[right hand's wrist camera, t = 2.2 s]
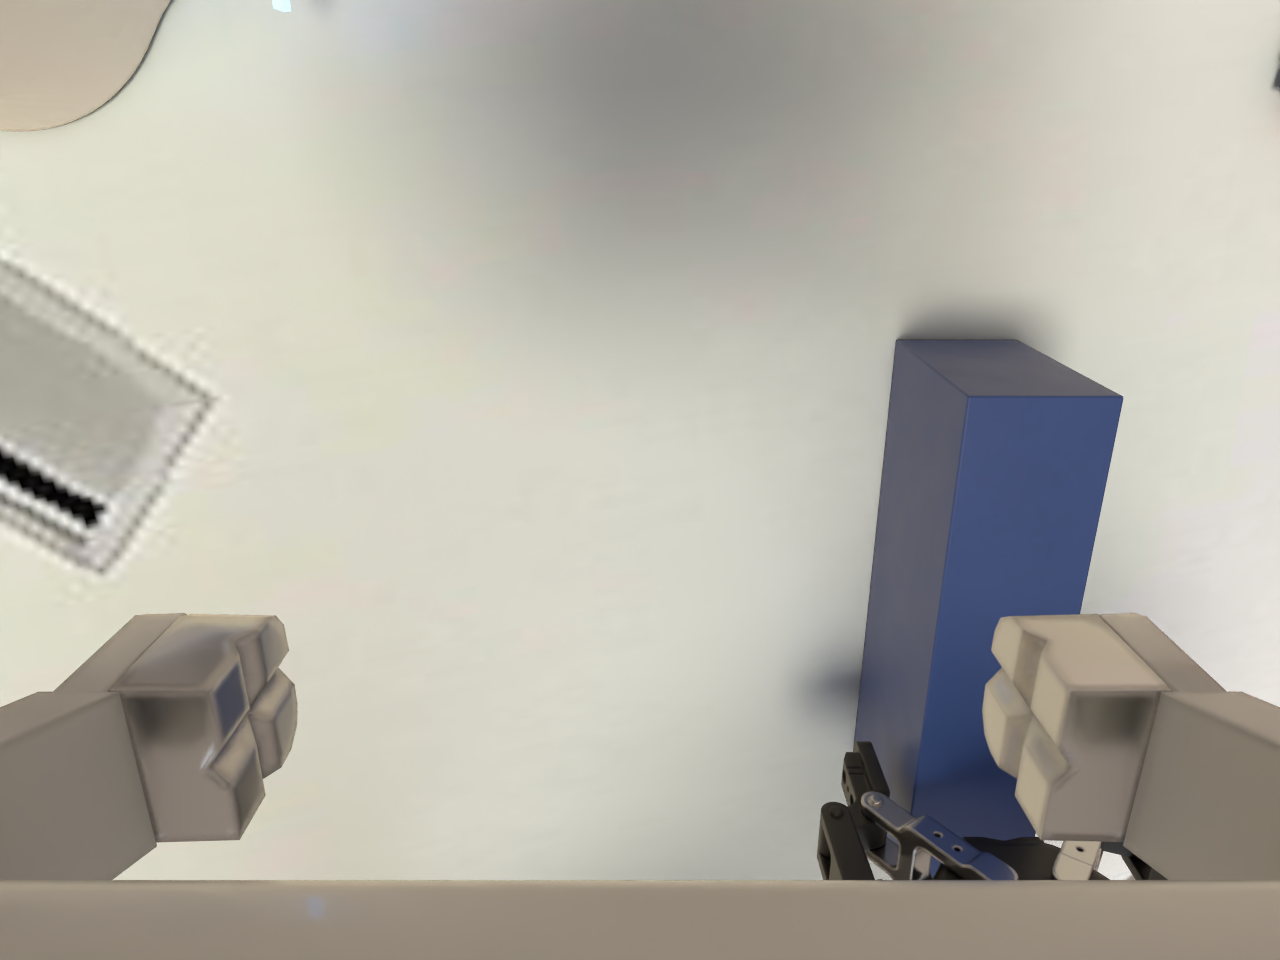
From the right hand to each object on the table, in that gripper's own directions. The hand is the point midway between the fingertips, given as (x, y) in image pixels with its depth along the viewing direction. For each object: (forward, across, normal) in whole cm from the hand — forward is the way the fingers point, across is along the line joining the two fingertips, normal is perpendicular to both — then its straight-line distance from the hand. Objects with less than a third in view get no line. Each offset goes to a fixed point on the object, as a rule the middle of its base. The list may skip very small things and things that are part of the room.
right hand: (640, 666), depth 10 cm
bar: (+31, -14, +14) cm, 37 cm away
